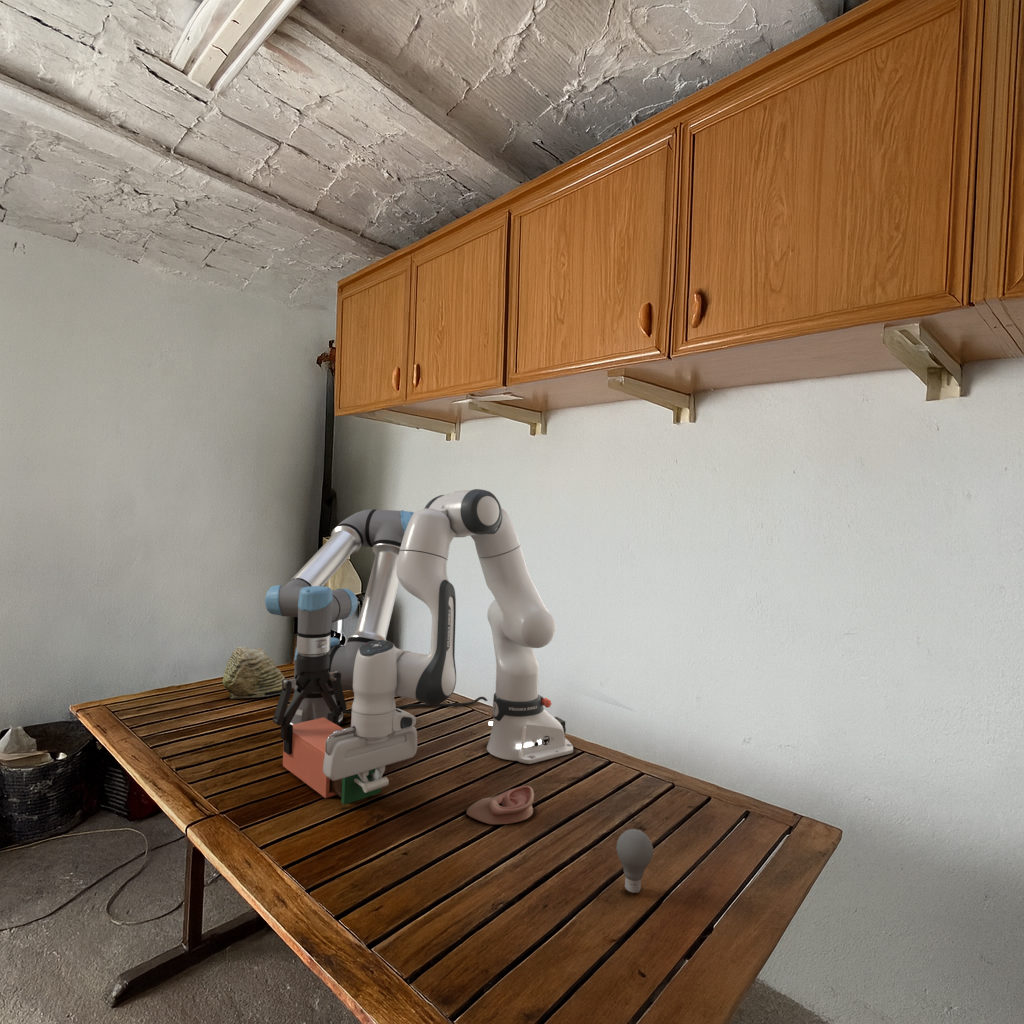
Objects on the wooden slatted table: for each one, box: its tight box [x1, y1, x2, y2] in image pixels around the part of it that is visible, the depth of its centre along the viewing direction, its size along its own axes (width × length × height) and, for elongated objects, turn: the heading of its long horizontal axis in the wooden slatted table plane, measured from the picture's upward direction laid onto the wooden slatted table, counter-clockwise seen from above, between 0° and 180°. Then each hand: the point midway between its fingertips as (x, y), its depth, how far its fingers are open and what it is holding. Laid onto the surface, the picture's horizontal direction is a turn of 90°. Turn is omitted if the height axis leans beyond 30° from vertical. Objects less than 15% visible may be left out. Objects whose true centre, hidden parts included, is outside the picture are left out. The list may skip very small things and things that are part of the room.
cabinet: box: [282, 717, 344, 799], centre depth 144 cm, size 21×10×9 cm, turn 44°
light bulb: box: [615, 828, 654, 894], centre depth 106 cm, size 6×6×10 cm
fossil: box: [222, 646, 286, 699], centre depth 198 cm, size 9×18×15 cm, turn 132°
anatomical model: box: [465, 785, 535, 825], centre depth 130 cm, size 13×4×12 cm
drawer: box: [329, 769, 390, 806], centre depth 137 cm, size 25×9×8 cm, turn 44°
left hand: (309, 746), depth 149 cm, fingers closed on cabinet, 10 cm apart
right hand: (370, 788), depth 130 cm, fingers closed, pressing on drawer
